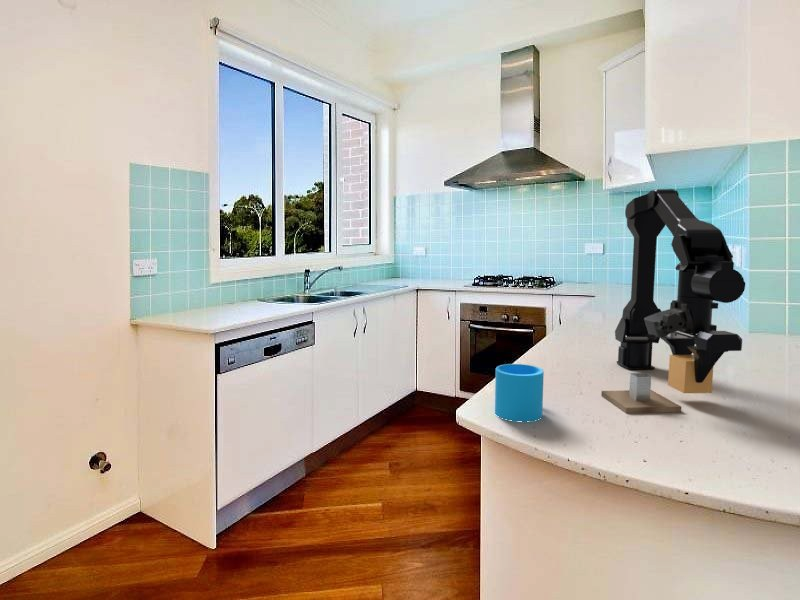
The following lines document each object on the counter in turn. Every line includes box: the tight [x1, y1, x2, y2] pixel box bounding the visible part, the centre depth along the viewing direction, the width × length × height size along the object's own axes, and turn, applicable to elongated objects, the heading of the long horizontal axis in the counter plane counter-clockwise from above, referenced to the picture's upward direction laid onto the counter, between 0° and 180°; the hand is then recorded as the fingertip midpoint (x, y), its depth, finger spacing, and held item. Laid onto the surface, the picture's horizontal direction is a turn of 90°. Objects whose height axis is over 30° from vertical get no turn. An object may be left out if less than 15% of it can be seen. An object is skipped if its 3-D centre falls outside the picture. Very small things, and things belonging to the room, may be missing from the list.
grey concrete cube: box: [629, 372, 652, 401], centre depth 94 cm, size 3×3×4 cm
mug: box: [494, 363, 545, 422], centre depth 90 cm, size 12×8×8 cm
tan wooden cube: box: [667, 354, 714, 394], centre depth 95 cm, size 5×5×6 cm
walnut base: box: [600, 389, 682, 414], centre depth 94 cm, size 10×10×1 cm
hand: (689, 378), depth 95 cm, fingers closed on tan wooden cube, 5 cm apart
